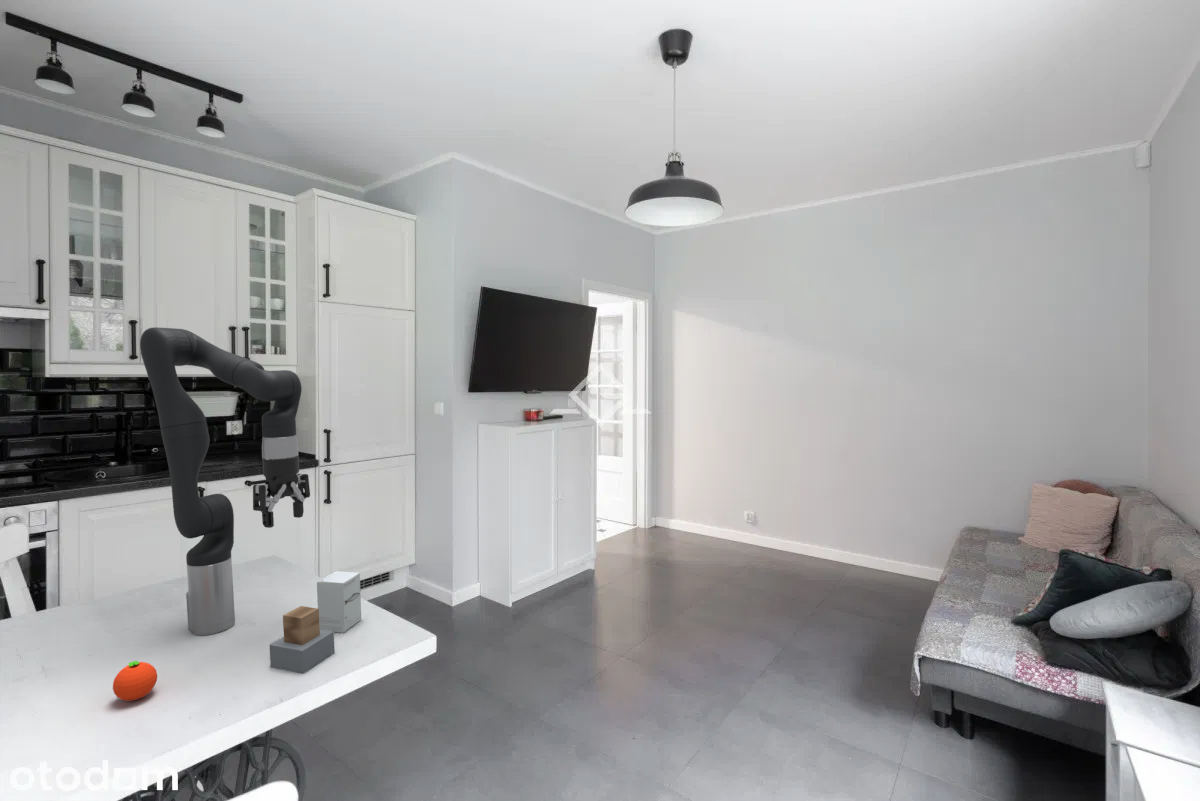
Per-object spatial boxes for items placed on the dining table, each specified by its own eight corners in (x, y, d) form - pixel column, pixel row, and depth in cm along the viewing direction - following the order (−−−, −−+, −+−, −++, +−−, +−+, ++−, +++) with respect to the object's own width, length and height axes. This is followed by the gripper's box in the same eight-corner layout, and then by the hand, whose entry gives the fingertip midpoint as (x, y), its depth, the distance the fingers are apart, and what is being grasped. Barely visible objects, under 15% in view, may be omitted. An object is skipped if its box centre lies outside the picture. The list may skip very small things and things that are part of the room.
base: (270, 666, 126) (269, 644, 126) (303, 647, 135) (302, 626, 134) (303, 673, 123) (302, 650, 123) (334, 652, 132) (333, 631, 132)
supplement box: (344, 633, 141) (342, 583, 140) (317, 631, 143) (315, 581, 142) (362, 620, 148) (360, 572, 147) (337, 617, 150) (334, 570, 149)
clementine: (110, 696, 116) (107, 662, 115) (153, 682, 121) (151, 649, 120) (117, 713, 110) (114, 677, 110) (162, 697, 115) (159, 662, 115)
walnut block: (284, 641, 127) (282, 615, 127) (302, 631, 132) (300, 605, 131) (302, 645, 126) (301, 618, 125) (319, 634, 130) (318, 608, 130)
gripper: (292, 449, 145) (295, 513, 146) (241, 459, 131) (245, 529, 132) (316, 450, 142) (319, 515, 144) (267, 461, 129) (271, 532, 130)
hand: (283, 522), depth 138 cm, fingers open, 8 cm apart
